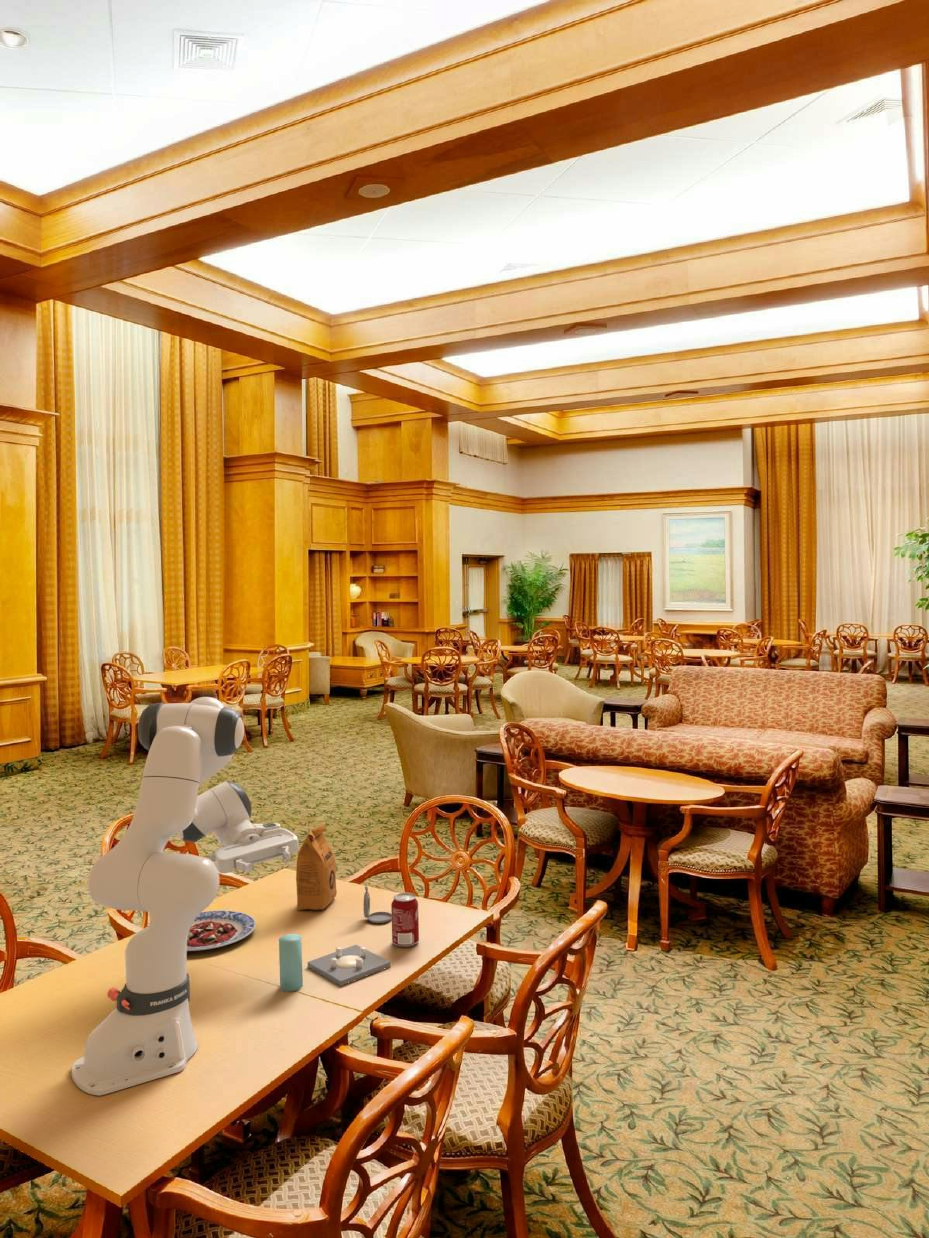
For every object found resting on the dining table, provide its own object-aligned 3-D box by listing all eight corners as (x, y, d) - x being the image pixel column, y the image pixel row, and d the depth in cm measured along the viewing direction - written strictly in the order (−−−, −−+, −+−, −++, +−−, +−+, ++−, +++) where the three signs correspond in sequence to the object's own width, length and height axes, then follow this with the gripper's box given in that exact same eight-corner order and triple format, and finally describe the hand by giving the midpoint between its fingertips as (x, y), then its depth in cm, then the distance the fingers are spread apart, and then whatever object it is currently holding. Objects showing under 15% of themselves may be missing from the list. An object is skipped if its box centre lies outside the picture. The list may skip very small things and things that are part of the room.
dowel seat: (341, 986, 189) (340, 972, 189) (307, 966, 199) (307, 953, 199) (390, 966, 199) (390, 953, 198) (356, 949, 209) (355, 936, 209)
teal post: (287, 993, 186) (286, 944, 186) (276, 986, 190) (274, 938, 189) (307, 986, 189) (305, 938, 189) (295, 979, 193) (294, 932, 193)
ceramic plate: (276, 927, 224) (276, 916, 224) (206, 965, 202) (205, 953, 202) (205, 912, 236) (204, 901, 236) (130, 947, 214) (130, 935, 213)
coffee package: (342, 898, 245) (340, 823, 244) (324, 914, 233) (322, 835, 232) (311, 895, 247) (309, 821, 247) (291, 911, 235) (289, 833, 235)
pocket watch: (396, 920, 227) (395, 884, 227) (369, 928, 222) (368, 890, 222) (382, 911, 234) (381, 876, 233) (355, 918, 229) (354, 882, 229)
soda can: (415, 949, 208) (414, 901, 208) (388, 947, 209) (387, 900, 209) (421, 938, 215) (420, 892, 214) (396, 936, 216) (395, 890, 216)
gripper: (204, 842, 202) (225, 863, 191) (284, 820, 214) (307, 839, 203) (206, 866, 203) (227, 888, 192) (285, 844, 215) (308, 863, 204)
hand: (269, 863), depth 197 cm, fingers open, 8 cm apart
